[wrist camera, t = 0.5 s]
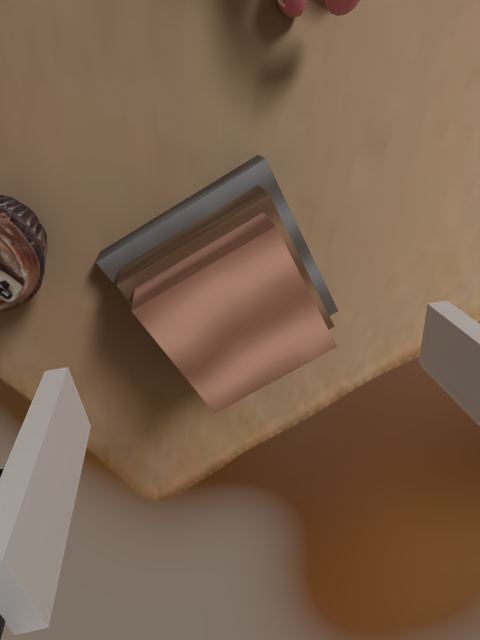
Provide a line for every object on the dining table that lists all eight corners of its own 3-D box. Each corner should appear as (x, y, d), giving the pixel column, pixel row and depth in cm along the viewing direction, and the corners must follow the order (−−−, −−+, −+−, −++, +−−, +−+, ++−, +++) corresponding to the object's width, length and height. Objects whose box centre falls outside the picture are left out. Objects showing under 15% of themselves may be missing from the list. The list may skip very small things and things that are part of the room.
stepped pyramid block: (100, 251, 38) (79, 302, 28) (258, 154, 36) (292, 174, 27) (196, 372, 46) (204, 443, 37) (327, 298, 44) (373, 352, 35)
